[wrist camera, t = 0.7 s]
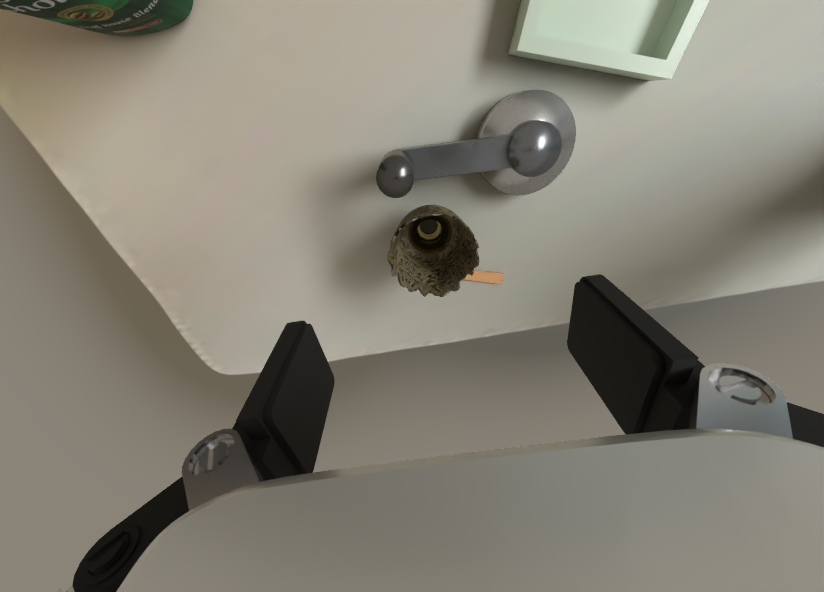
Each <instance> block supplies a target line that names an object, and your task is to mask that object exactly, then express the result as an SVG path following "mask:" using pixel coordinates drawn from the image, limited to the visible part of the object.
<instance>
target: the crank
mask: <svg viewBox="0 0 824 592" xmlns="http://www.w3.org/2000/svg"><path fill="white" fill-rule="evenodd" d="M561 148H562V139H561V135H560V132H559V130H558V129H557V128H556V127H555V126H554V125H553V124H551V123H549V122H545V121H539V120H528V121H525V122H523V123H521V124H519V125H518V126H516V127H515V128H514V129H513V130H512V131H511V133H510V134H506V135H499V136H491V137H484V138H476V139H469V140H461V141H454V142H446V143H439V144H431V145H424V146H416V147H409V148H402V149H396V150H392V151H390V152H388V153H387V154H386V155H385V157H384V158H383V160H382V162H381V164H380V166H379V169H378V171H377V175H376V180H377V185H378V187H379V189H380V190H381V191H382V192H383V193H384V194H385V195H387V196H389V197H392V198H399V197H402V196H404V195H406V194H407V193H408V192H409V191H410V190H411V188H412V185H413V180H420V179H428V178H436V177H444V176H452V175H460V174H467V173H475V172H483V171H491V170H499V169H507V168H511V169H512V170H514V171H515V172H517V173H518V174H520V175H522V176H525V177H536V176H539V175H542V174H544V173H545V172H547V171H548V170H549V169H550V168H551V167H552V166H553V165H554V164H555V163H556V161H557V159H558V157H559V155H560V152H561Z"/></svg>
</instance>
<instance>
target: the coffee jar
mask: <svg viewBox="0 0 824 592" xmlns="http://www.w3.org/2000/svg"><path fill="white" fill-rule="evenodd" d="M192 5H193V0H0V9H4V10H9V11H13V12H17V13H21V14H26V15H30V16H34V17H38V18H43V19H47V20H51V21H55V22H59V23H62V24H66V25H70V26H74V27H78V28H82V29H86V30H90V31H94V32H99V33H103V34H108V35H117V36H120V35H122V36H126V35H141V34H146V33H152V32H156V31H160V30H163V29H166V28H168V27H171V26H174V25H176V24H178V23H180V22H181V21H183V20H184V19H186V17H187V16H188V15H189V13H190V11H191V9H192Z"/></svg>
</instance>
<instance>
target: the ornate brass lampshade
mask: <svg viewBox="0 0 824 592" xmlns="http://www.w3.org/2000/svg"><path fill="white" fill-rule="evenodd" d="M429 219H431V220H434V221H435V222H436V224H437V228H436V230H435V232H433V233H431V234H426V233H424V232H423V231H422V229H421V224H422V222H423V221H425V220H429ZM477 248H479V246H478V243H477V241H476V240H475V238H474V235H473V232H472V231H471V230H470V228H469V227H468V226H467V225H466V224H465V223H464V222H463V221H462V220H461V219H460V218H459V217H458V216H457V215H456V214H455V213H454V212H452V211H451V210H449V209H447V208H445V207H442V206H437V205H426V206H422V207H419V208H417V209H415V210H413V211H411V212H410V213H409V214H408V215H407V216H406V217H405V218H404V219H403V220H402V222H401V223H400V225H399V226H398V228H397V231H396V233H395V235H394V236H393V238H392V241H391V245H390V248H389V252H388V262H389V264H390V265H391V266H392V269H391V272H392V275H393V276H398V281H399V283H400V285H401V286H402V287H406V288H408V290H409V292H413V291H417V290H418V289H419V291H420V293H421V294H422V295H423V296H424V297H425V296H426V295H427V294H428V293H432V294H433V295H435V296H440V297H443V296H445V295H446V294H447V293H449V292H450V291H457V290H459V288H460V281H461V280H462V279H465V278H466V276H467V274H470V275H471V276H472V275H473V274H474V268H475V267H477V266H478V265H479V256H478V253H477Z"/></svg>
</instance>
